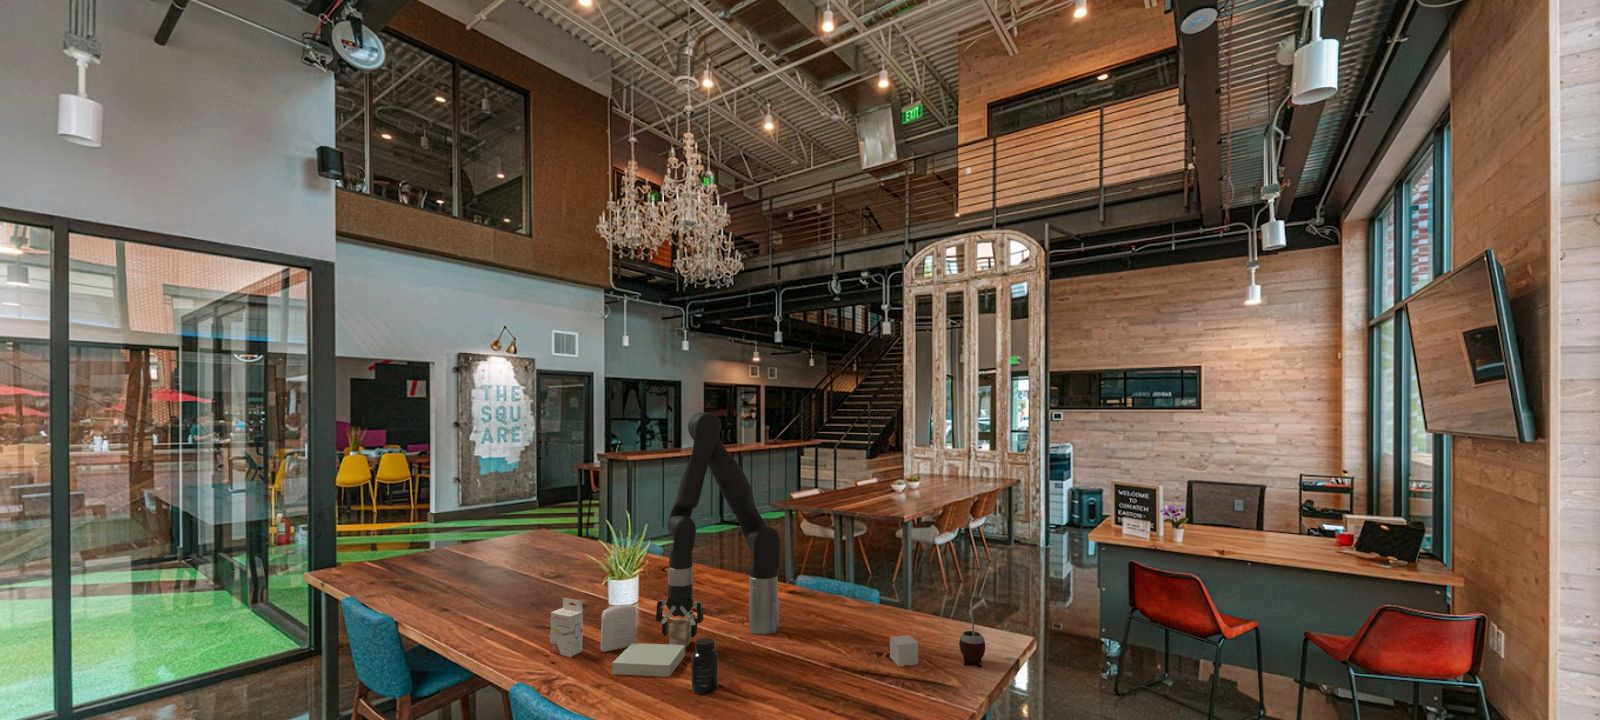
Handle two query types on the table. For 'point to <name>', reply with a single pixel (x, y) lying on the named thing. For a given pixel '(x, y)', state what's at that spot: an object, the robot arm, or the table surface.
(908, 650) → the grey cube
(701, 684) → the supplement bottle
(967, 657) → the mate gourd
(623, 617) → the photo printer
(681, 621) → the birch block
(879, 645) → the table surface
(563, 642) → the ink cartridge box
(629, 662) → the base plate
